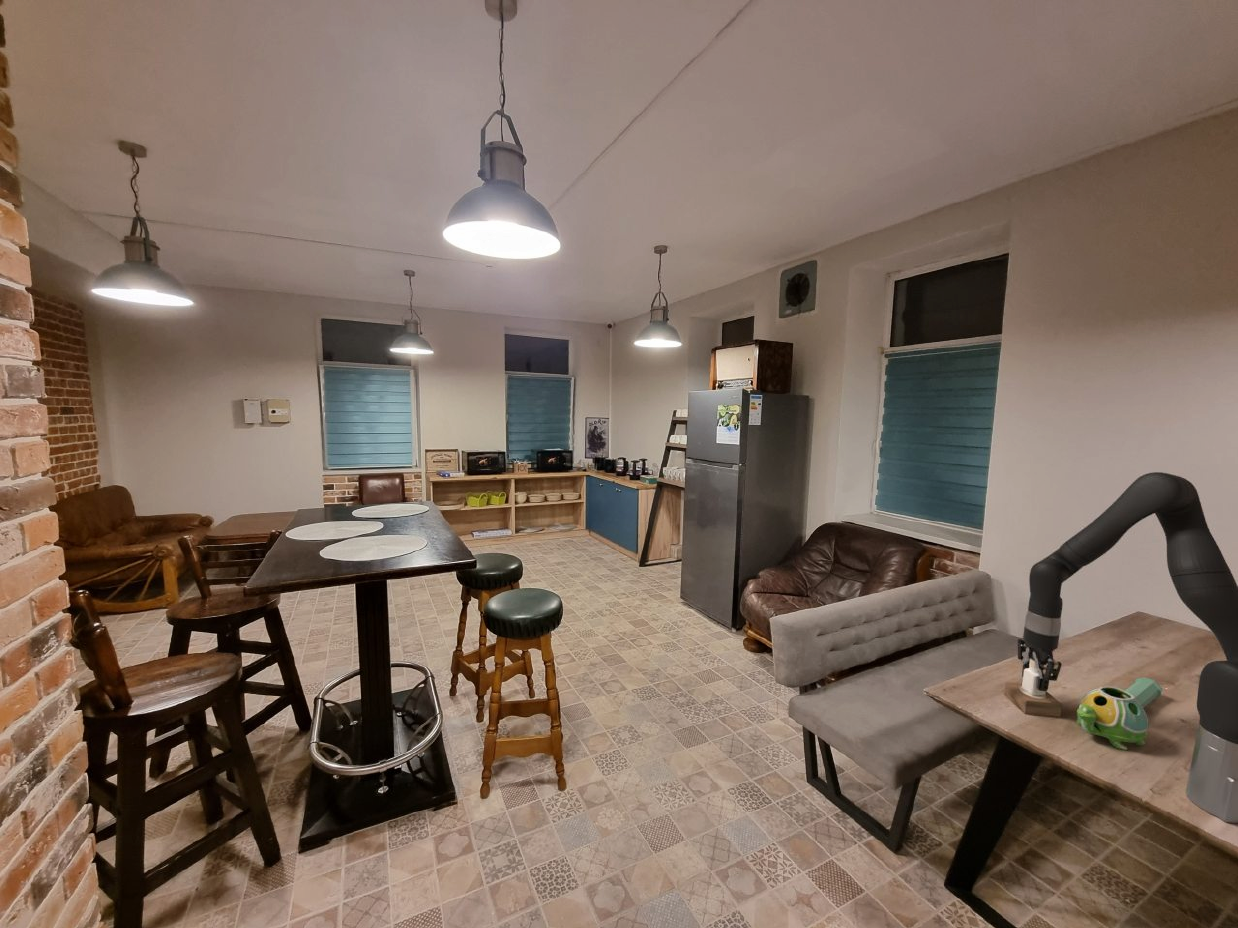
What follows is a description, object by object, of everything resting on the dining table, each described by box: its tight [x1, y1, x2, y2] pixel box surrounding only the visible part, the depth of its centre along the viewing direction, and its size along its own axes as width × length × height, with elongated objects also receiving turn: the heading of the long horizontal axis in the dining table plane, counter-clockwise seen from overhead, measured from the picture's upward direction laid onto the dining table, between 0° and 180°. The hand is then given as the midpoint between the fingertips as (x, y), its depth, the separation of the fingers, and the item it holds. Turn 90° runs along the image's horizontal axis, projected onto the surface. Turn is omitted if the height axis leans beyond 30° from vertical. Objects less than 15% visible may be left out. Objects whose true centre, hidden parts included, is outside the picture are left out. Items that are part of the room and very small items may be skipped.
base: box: [1003, 681, 1063, 718], centre depth 141 cm, size 9×9×4 cm
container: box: [1122, 676, 1163, 709], centre depth 141 cm, size 6×6×25 cm
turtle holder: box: [1076, 685, 1149, 751], centre depth 128 cm, size 12×18×12 cm
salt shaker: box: [1021, 659, 1046, 695], centre depth 140 cm, size 4×4×10 cm
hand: (1034, 683), depth 140 cm, fingers open, 5 cm apart
